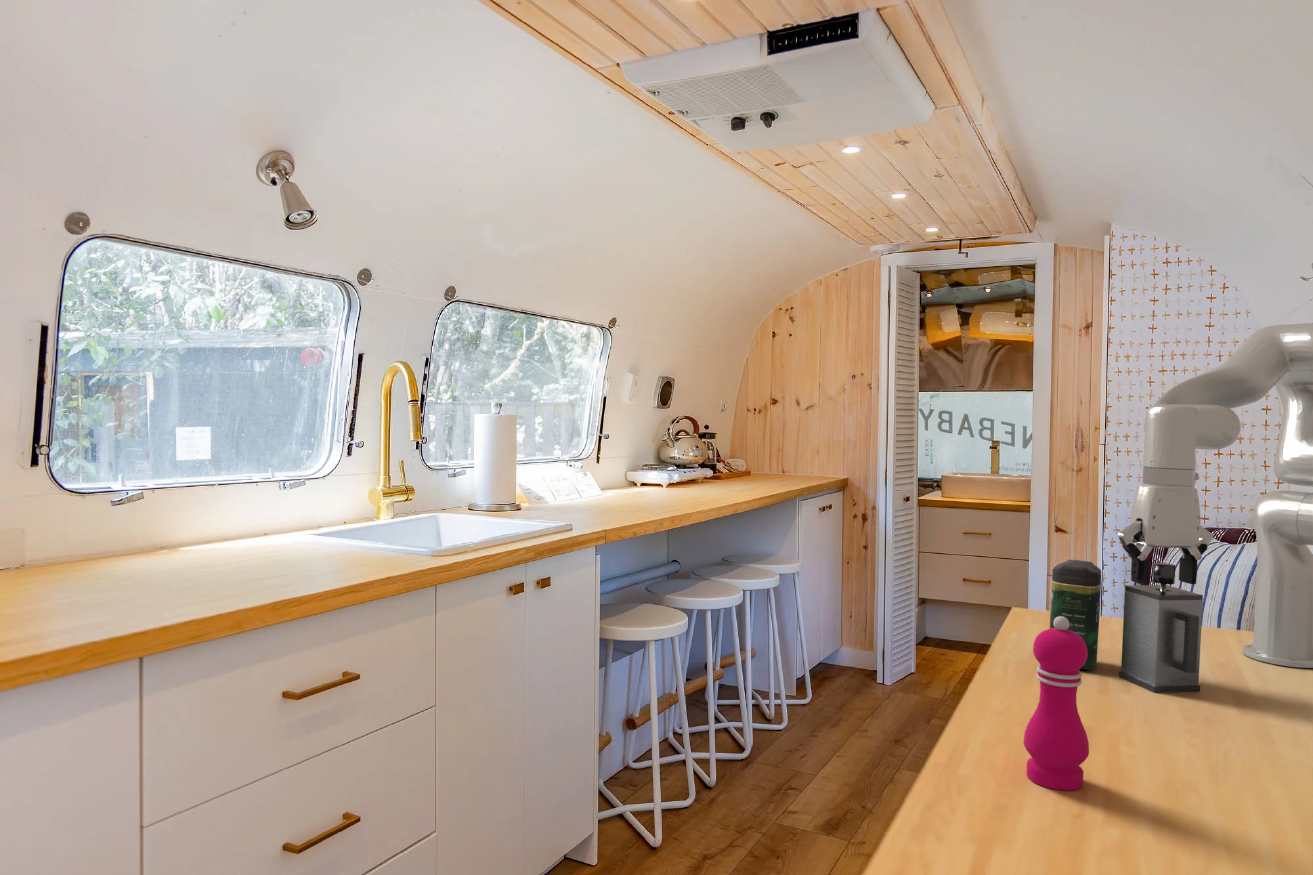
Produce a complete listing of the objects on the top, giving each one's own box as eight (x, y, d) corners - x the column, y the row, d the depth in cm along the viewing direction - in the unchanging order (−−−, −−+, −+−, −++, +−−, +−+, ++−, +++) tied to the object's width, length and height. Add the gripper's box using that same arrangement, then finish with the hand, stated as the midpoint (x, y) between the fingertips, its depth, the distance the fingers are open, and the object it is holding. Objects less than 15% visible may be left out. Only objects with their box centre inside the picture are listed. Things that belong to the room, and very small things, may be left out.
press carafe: (1162, 675, 152) (1166, 584, 151) (1213, 696, 141) (1218, 599, 140) (1118, 676, 150) (1123, 585, 150) (1167, 698, 139) (1171, 599, 139)
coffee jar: (1094, 674, 151) (1098, 567, 151) (1044, 666, 156) (1048, 562, 155) (1100, 661, 160) (1104, 560, 159) (1052, 654, 164) (1057, 555, 163)
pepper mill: (1032, 762, 112) (1039, 606, 111) (1094, 779, 107) (1101, 616, 106) (1014, 780, 106) (1021, 616, 105) (1078, 798, 101) (1086, 627, 101)
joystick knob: (1163, 640, 150) (1166, 561, 150) (1188, 649, 144) (1192, 567, 144) (1133, 641, 149) (1137, 561, 149) (1157, 650, 144) (1161, 567, 143)
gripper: (1197, 477, 151) (1192, 578, 152) (1106, 476, 148) (1101, 578, 149) (1232, 481, 144) (1227, 587, 144) (1137, 480, 141) (1132, 587, 141)
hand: (1163, 582), depth 146 cm, fingers open, 8 cm apart
